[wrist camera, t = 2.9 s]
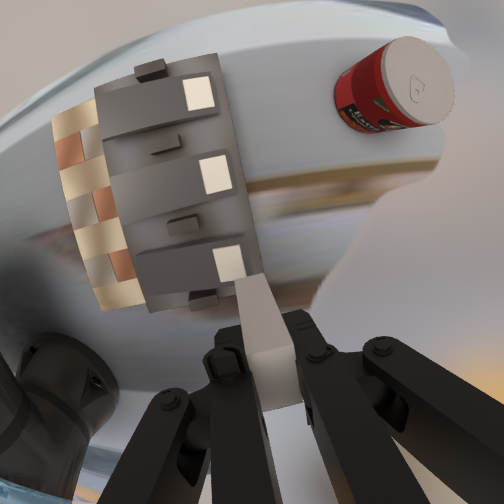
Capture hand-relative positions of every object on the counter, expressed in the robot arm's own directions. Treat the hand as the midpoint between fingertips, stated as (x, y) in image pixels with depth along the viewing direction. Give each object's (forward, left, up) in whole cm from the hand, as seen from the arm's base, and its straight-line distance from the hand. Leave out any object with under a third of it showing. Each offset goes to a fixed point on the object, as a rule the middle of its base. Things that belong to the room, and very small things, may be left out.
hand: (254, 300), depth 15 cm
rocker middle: (+3, +7, -9) cm, 11 cm away
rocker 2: (-2, +3, -9) cm, 9 cm away
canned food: (+19, -7, -16) cm, 26 cm away
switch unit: (+1, +10, -16) cm, 18 cm away
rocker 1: (+9, +10, -9) cm, 16 cm away
